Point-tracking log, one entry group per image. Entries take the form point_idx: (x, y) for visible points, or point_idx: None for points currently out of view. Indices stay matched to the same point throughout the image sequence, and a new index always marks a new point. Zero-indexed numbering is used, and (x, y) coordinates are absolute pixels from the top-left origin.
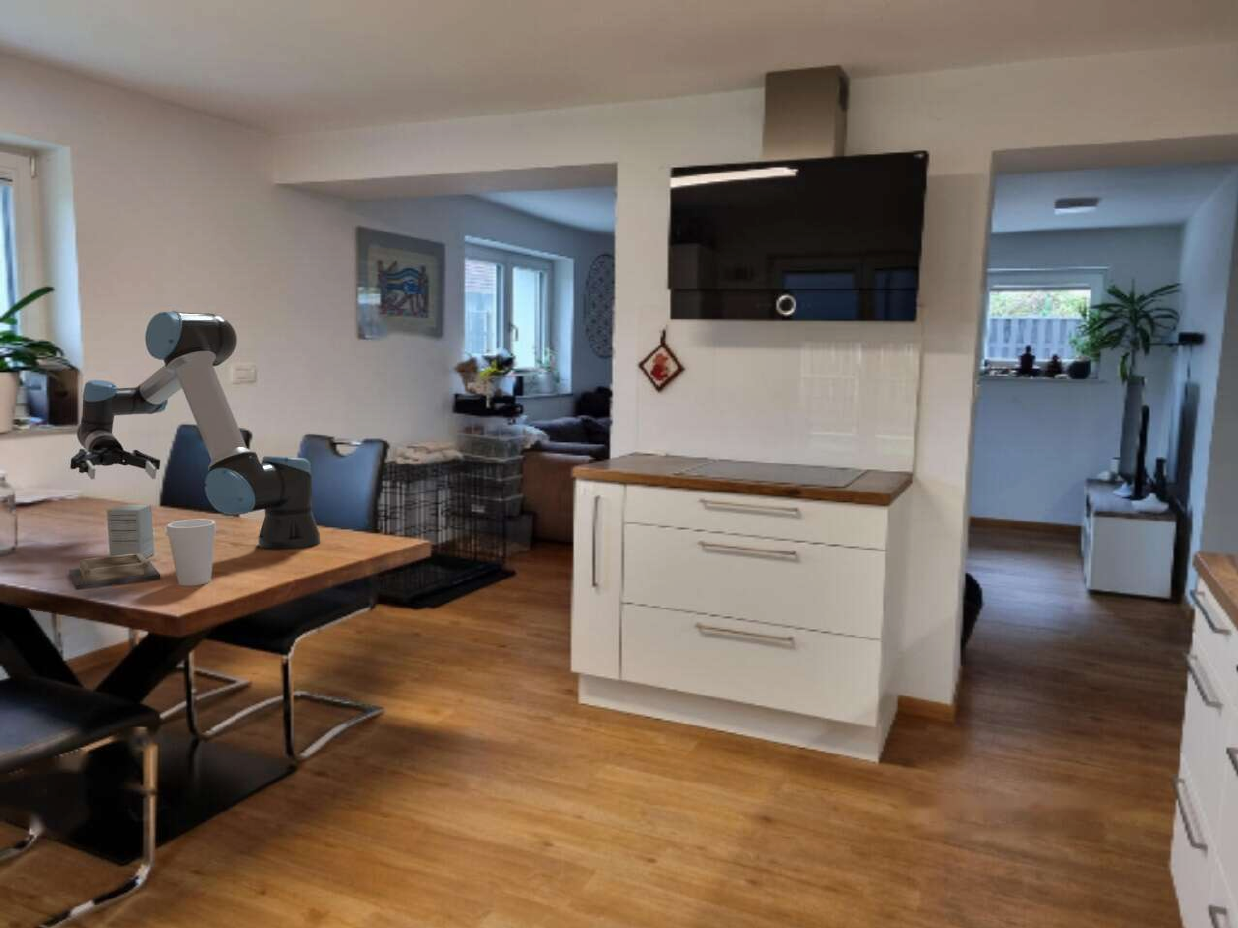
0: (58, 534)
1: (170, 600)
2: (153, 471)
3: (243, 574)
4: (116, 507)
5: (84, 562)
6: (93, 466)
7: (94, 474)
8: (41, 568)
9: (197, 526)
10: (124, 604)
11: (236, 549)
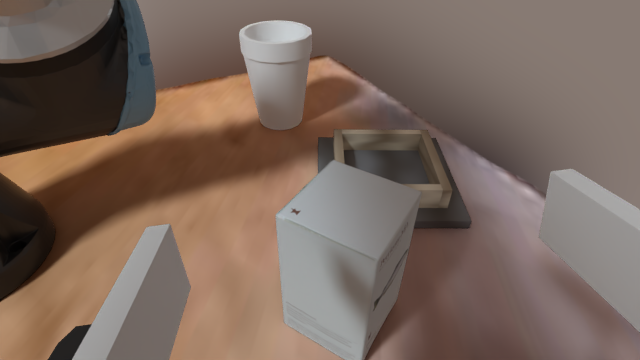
0: None
1: (325, 83)
2: (171, 242)
3: (212, 121)
4: (393, 213)
5: (437, 169)
6: (590, 196)
7: (547, 209)
8: (558, 313)
9: (276, 21)
10: (371, 88)
11: (97, 270)
